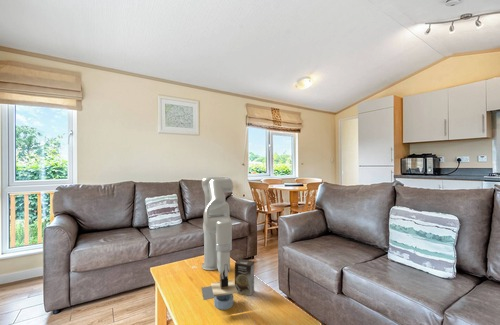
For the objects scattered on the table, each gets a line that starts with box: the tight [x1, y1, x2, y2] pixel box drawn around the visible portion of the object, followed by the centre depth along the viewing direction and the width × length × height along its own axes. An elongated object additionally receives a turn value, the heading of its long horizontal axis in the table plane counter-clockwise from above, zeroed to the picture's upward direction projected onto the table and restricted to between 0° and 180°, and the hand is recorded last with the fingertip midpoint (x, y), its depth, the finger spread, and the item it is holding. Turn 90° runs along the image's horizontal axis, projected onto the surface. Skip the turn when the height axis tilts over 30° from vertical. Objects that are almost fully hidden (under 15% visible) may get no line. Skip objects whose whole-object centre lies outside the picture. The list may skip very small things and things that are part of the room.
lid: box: [210, 273, 239, 297], centre depth 114 cm, size 11×11×7 cm
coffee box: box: [234, 258, 255, 296], centre depth 125 cm, size 9×6×16 cm
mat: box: [201, 285, 214, 301], centre depth 124 cm, size 12×12×1 cm
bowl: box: [213, 294, 234, 311], centre depth 114 cm, size 9×9×4 cm
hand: (223, 284), depth 114 cm, fingers closed on lid, 3 cm apart
